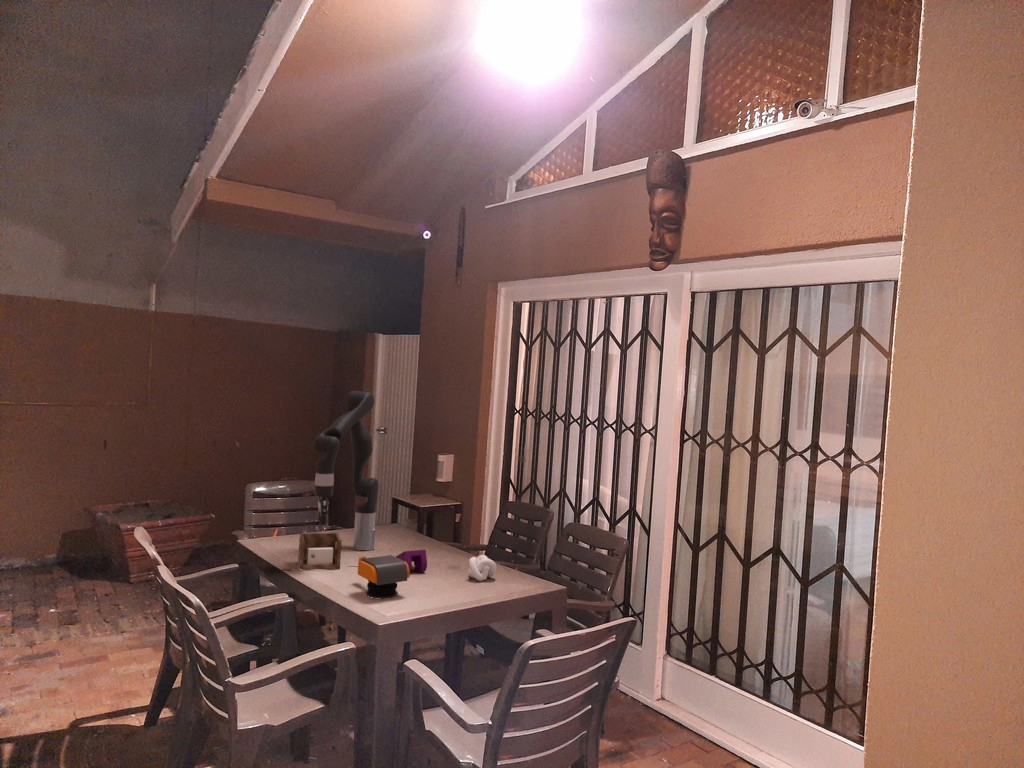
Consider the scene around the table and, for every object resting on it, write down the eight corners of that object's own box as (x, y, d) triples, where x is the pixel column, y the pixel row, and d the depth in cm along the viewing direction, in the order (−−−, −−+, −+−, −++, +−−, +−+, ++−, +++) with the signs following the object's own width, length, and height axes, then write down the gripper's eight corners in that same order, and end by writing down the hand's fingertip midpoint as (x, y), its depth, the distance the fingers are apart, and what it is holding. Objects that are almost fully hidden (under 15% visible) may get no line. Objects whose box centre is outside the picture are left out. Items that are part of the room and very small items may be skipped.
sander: (376, 579, 275) (378, 547, 275) (409, 596, 256) (411, 562, 256) (342, 584, 266) (344, 551, 266) (373, 602, 246) (375, 567, 246)
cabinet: (336, 560, 300) (338, 532, 300) (339, 569, 286) (341, 540, 286) (298, 561, 294) (299, 533, 294) (299, 570, 281) (301, 540, 281)
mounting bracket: (390, 580, 295) (407, 571, 282) (388, 560, 298) (404, 551, 285) (411, 578, 300) (428, 569, 287) (408, 558, 303) (425, 549, 290)
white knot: (483, 584, 277) (485, 562, 277) (459, 579, 283) (460, 557, 283) (498, 579, 286) (500, 557, 286) (474, 573, 293) (476, 552, 293)
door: (331, 566, 290) (332, 547, 290) (332, 569, 286) (333, 549, 286) (306, 567, 286) (307, 547, 286) (307, 569, 283) (308, 550, 283)
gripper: (335, 486, 282) (332, 526, 282) (332, 481, 295) (329, 519, 295) (316, 486, 279) (313, 526, 279) (313, 481, 292) (311, 519, 293)
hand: (322, 522), depth 287 cm, fingers open, 8 cm apart
